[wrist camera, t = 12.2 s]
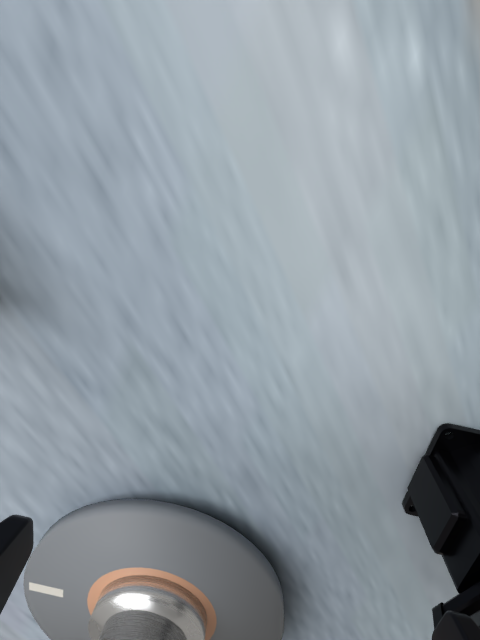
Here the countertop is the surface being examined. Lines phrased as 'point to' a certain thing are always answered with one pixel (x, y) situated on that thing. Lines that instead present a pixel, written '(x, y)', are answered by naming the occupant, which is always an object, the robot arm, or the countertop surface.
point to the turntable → (152, 568)
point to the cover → (147, 611)
